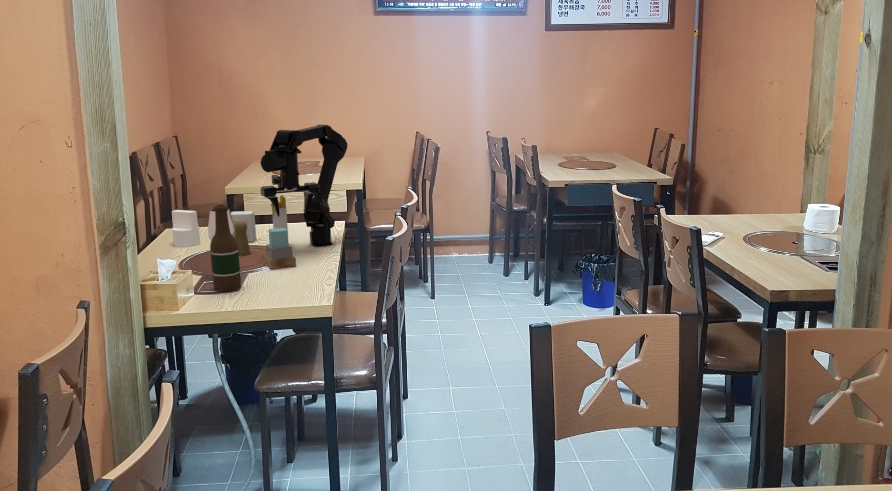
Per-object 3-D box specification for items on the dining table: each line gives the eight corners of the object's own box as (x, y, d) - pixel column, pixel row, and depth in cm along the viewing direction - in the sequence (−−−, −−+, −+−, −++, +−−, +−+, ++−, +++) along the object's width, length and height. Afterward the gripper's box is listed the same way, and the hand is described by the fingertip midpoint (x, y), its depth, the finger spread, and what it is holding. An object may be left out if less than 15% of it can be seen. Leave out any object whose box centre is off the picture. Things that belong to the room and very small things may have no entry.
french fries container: (275, 251, 261) (272, 199, 257) (273, 244, 271) (269, 194, 267) (289, 250, 262) (286, 198, 258) (286, 243, 272) (283, 193, 268)
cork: (245, 256, 255) (243, 223, 252) (228, 255, 256) (226, 223, 254) (253, 252, 261) (251, 220, 258) (237, 251, 262) (234, 219, 259)
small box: (256, 239, 280) (254, 210, 278) (253, 242, 275) (251, 213, 272) (234, 239, 280) (232, 211, 277) (230, 243, 274) (228, 214, 272)
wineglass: (214, 279, 228) (209, 213, 224) (209, 273, 235) (203, 209, 230) (241, 275, 232) (236, 210, 227) (235, 269, 238) (230, 206, 234)
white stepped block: (168, 246, 271) (164, 212, 268) (185, 240, 279) (182, 208, 276) (188, 248, 268) (185, 214, 265) (205, 242, 276) (202, 209, 273)
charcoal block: (286, 252, 246) (286, 242, 245) (292, 257, 240) (291, 246, 240) (266, 255, 243) (266, 244, 242) (272, 259, 238) (271, 248, 237)
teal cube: (285, 242, 244) (284, 227, 243) (288, 246, 240) (287, 230, 239) (269, 244, 243) (268, 229, 242) (272, 247, 238) (271, 231, 237)
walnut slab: (289, 262, 248) (288, 251, 247) (296, 268, 241) (295, 257, 241) (264, 265, 245) (263, 254, 244) (271, 271, 238) (270, 260, 237)
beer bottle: (216, 284, 223) (209, 203, 217) (243, 283, 223) (237, 202, 218) (210, 292, 215) (203, 208, 210) (238, 291, 216) (232, 207, 210)
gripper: (309, 163, 263) (312, 208, 266) (255, 167, 255) (258, 213, 258) (319, 167, 253) (321, 214, 257) (263, 171, 245) (266, 219, 249)
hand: (292, 215), depth 255 cm, fingers open, 9 cm apart
